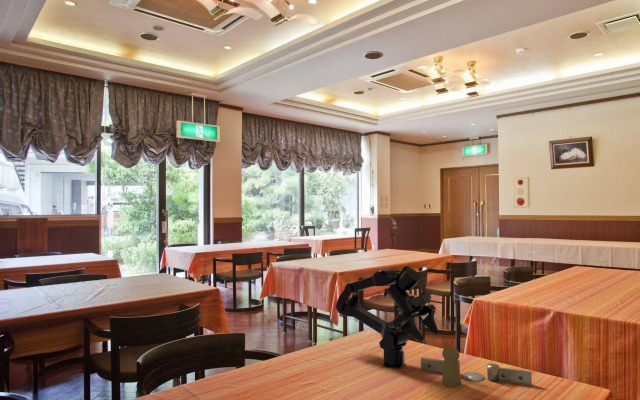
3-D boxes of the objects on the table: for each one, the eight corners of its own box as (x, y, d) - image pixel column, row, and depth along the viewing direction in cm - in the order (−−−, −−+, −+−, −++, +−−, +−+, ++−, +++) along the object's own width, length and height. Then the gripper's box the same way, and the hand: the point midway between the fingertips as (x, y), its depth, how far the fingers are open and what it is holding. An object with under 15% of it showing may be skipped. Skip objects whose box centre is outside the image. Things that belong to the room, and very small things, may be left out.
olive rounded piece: (462, 388, 127) (461, 352, 128) (442, 386, 129) (441, 351, 129) (460, 380, 133) (459, 345, 134) (440, 379, 135) (440, 344, 135)
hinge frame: (419, 373, 140) (419, 359, 140) (423, 366, 146) (422, 353, 146) (532, 389, 126) (531, 374, 126) (531, 380, 132) (530, 366, 132)
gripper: (399, 288, 135) (429, 329, 126) (430, 281, 147) (460, 317, 139) (380, 308, 140) (408, 349, 132) (412, 300, 153) (440, 336, 145)
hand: (430, 337), depth 137 cm, fingers open, 9 cm apart
